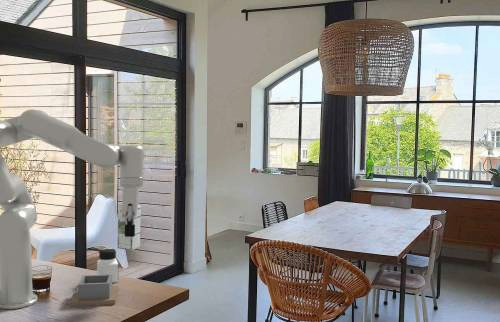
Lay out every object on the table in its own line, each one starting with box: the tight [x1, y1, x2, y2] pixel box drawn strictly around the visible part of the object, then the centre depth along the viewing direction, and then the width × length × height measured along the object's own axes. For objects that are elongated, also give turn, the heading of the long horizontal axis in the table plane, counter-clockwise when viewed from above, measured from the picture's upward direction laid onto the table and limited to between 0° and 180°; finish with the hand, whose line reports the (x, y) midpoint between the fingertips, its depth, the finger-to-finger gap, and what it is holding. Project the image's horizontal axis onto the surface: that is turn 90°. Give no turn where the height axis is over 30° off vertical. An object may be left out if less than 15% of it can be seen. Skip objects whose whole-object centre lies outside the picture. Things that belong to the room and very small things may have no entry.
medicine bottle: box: [96, 247, 119, 284], centre depth 187 cm, size 7×7×12 cm
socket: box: [70, 274, 120, 307], centre depth 168 cm, size 14×14×6 cm
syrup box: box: [117, 204, 142, 251], centre depth 168 cm, size 6×6×14 cm
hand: (130, 233), depth 168 cm, fingers closed on syrup box, 7 cm apart
